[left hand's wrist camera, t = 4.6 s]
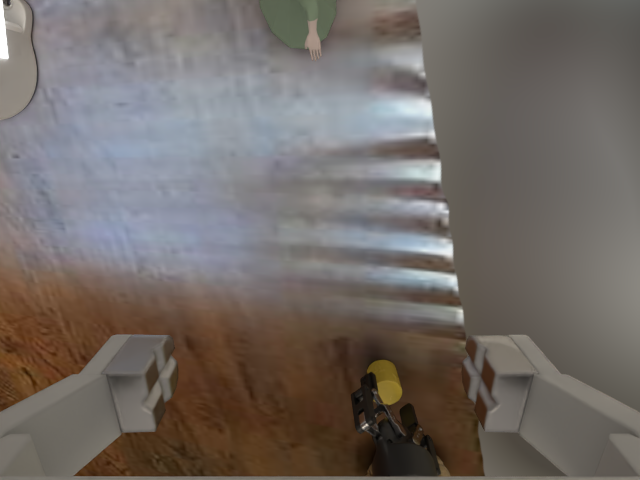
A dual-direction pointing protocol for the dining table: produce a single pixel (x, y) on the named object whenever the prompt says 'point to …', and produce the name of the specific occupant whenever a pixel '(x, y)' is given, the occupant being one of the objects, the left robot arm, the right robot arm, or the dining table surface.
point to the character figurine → (300, 21)
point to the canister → (386, 381)
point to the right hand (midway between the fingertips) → (387, 391)
